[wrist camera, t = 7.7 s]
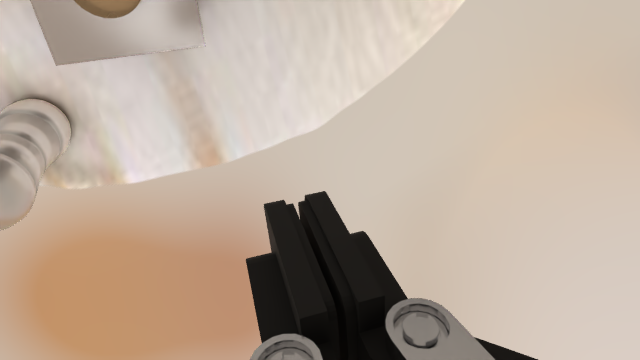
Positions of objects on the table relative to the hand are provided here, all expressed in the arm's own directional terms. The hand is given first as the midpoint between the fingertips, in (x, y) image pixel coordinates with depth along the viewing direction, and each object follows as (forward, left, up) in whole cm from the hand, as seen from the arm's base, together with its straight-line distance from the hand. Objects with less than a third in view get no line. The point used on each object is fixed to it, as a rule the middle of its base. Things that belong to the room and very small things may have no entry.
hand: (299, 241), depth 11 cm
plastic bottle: (+20, +8, -39) cm, 45 cm away
